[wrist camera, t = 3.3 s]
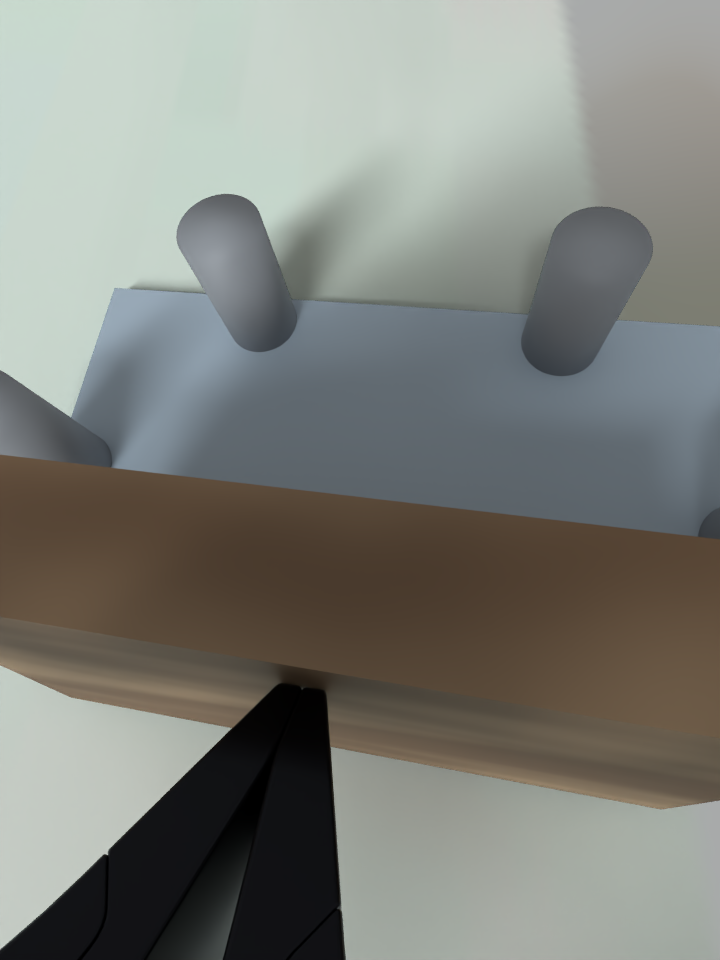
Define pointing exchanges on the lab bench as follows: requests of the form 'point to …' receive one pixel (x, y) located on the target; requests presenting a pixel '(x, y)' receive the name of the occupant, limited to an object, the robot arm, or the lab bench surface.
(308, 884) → the robot arm
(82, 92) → the lab bench surface
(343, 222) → the lab bench surface
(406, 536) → the shelf board
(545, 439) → the peg plate
